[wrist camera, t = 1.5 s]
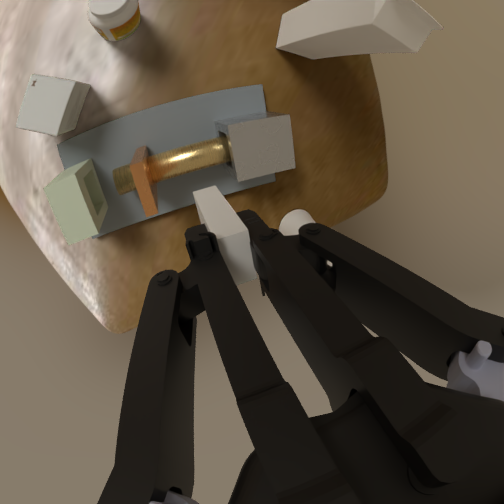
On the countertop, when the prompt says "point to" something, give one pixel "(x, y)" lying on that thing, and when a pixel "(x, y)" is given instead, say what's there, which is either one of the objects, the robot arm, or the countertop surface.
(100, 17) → the supplement bottle
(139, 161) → the tube
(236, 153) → the grey cube end cap
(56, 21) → the countertop surface
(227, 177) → the board
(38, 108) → the product box
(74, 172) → the socket
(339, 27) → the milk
